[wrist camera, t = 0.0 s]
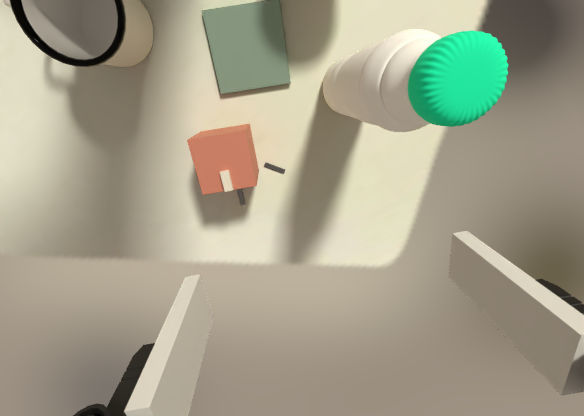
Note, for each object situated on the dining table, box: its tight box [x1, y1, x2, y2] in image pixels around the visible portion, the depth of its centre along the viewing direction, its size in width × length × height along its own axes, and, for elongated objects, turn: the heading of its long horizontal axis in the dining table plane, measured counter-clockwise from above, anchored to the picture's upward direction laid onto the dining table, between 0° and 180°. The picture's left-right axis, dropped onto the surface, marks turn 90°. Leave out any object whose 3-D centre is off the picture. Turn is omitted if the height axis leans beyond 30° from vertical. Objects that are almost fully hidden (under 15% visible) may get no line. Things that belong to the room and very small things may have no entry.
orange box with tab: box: [187, 124, 259, 195], centre depth 36 cm, size 7×7×8 cm
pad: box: [202, 0, 291, 94], centre depth 35 cm, size 9×9×1 cm
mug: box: [4, 0, 154, 67], centre depth 29 cm, size 12×10×9 cm
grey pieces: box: [237, 163, 285, 205], centre depth 39 cm, size 10×9×4 cm
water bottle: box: [323, 29, 508, 132], centre depth 26 cm, size 7×7×25 cm
